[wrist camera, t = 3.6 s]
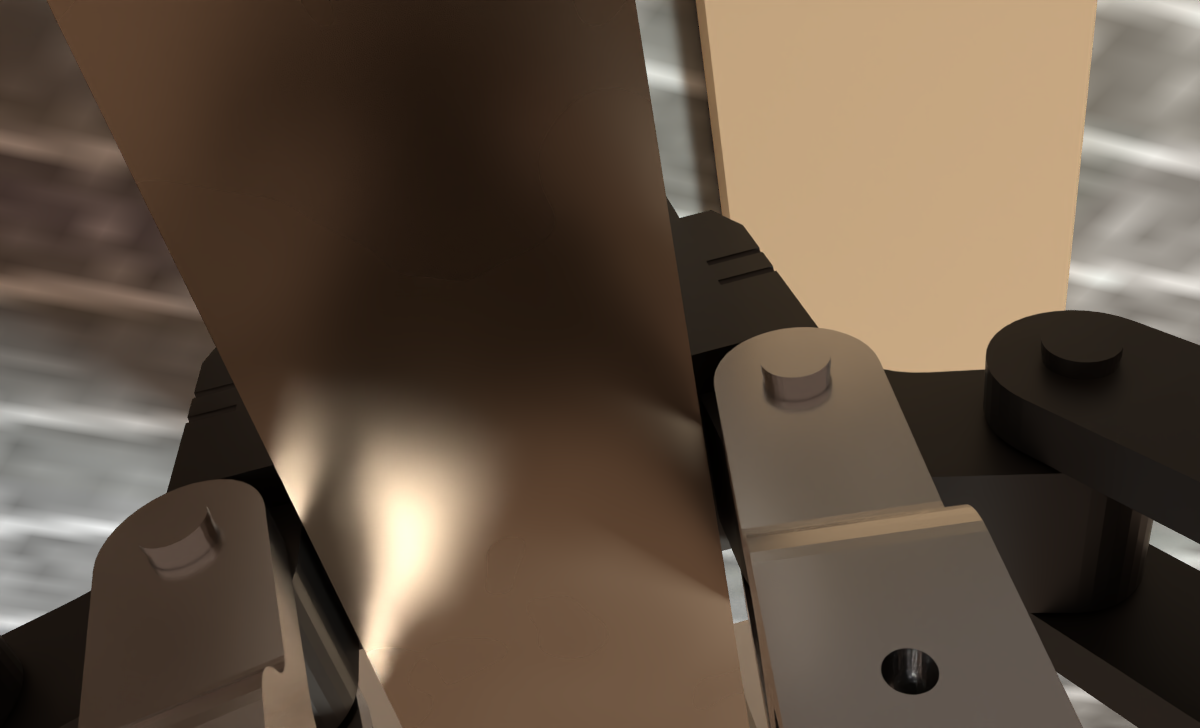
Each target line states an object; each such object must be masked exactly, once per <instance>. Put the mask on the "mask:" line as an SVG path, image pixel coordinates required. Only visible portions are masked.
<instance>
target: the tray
mask: <svg viewBox="0 0 1200 728" xmlns="http://www.w3.org/2000/svg"><path fill="white" fill-rule="evenodd" d="M696 7H697V15H698V23H699V31H700V40H701V48H702V56H703V64H704V72H705V80H706V88H707V97H708V105H709V113H710V121H711V129H712V137H713V145H714V153H715V162H716V170H717V178H718V186H719V194H720V202H721V210H722V216H725V217H727V218H729V219H731V220H733V221H735V222H738V223H740V224H742V225H743V226H744V227H745V228H746V230H747V231H748V233H749V234H750V235H751V237H752V238H753V239H754V241H755V242H756V243H757V245H758V246H759V248H760V252H763V253H764V254H765V256H766V257H767V258H768V260H769V261H770V262H771V264H772V265H773V269H774V271H777V272H778V273H779V275H780V276H781V277H782V279H783V280H784V281H785V283H786V284H787V286H788V287H789V288H790V290H791V291H792V292H793V294H794V295H795V296H796V298H797V299H798V300H799V302H800V303H801V305H802V306H803V307H804V309H805V310H806V311H807V313H808V314H809V315H810V317H811V318H812V320H813V321H814V322H815V324H816V325H817V326H818V328H824V329H830V330H835V331H839V332H842V333H845V334H848V335H850V336H852V337H855V338H857V339H859V340H860V341H862V342H863V343H865V344H866V345H868V346H869V347H870V348H871V349H872V350H873V351H874V352H875V354H876V355H877V357H878V359H879V360H880V363H881V365H882V367H883V369H886V370H892V371H900V372H944V371H963V370H983V369H985V361H986V349H987V347H988V345H989V342H990V340H991V339H992V338H993V337H994V335H995V334H996V333H997V332H999V331H1000V330H1001V329H1002V328H1004V327H1005V326H1007V325H1009V324H1011V323H1012V322H1014V321H1017V320H1019V319H1022V318H1024V317H1027V316H1031V315H1035V314H1039V313H1045V312H1052V311H1065V307H1066V297H1067V288H1068V278H1069V268H1070V259H1071V249H1072V239H1073V230H1074V220H1075V210H1076V201H1077V191H1078V181H1079V172H1080V162H1081V152H1082V143H1083V133H1084V124H1085V114H1086V104H1087V95H1088V85H1089V75H1090V66H1091V56H1092V46H1093V37H1094V27H1095V17H1096V8H1097V0H696Z"/></svg>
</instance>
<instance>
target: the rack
mask: <svg viewBox="0 0 1200 728" xmlns="http://www.w3.org/2000/svg"><path fill="white" fill-rule="evenodd" d="M733 625H734V632H735V638H736V645H737V651H738V657H739V664H740V670H741V676H742V683H743V689H744V695H745V702H746V708H747V714H748V721H749V727H750V728H768V726H767V720H766V715H765V709H764V704H763V698H762V693H761V687H760V681H759V676H758V670H757V665H756V659H755V654H754V648H753V642H752V637H751V631H750V626H749V620H746V621H742V622H739V623H735V624H733ZM358 686H359V688H360V690H361V692H362V694H363V695H364V697H365V699H366V701H367V704H368V707H369V710H370V715H371V719H372V724H373V728H402V726H401V724H400V722H399V720H398V718H397V715H396V713H395V711H394V709H393V707H392V705H391V703H390V701H389V699H388V697H387V695H386V693H385V691H384V689H383V687H382V685H381V683H380V681H379V679H378V677H377V675H376V673H375V670H374V668H373V666H372V664H371V662H370V660H369V658H368V656H367V654H366V652H365V650H364V649H361V650H359V681H358Z"/></svg>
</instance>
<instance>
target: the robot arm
mask: <svg viewBox="0 0 1200 728" xmlns="http://www.w3.org/2000/svg"><path fill="white" fill-rule="evenodd" d="M666 200H667V206H668V213H669V219H670V225H671V232H672V238H673V245H674V251H675V257H676V264H677V270H678V276H679V283H680V289H681V295H682V302H683V308H684V314H685V321H686V327H687V333H688V340H689V346H690V352H691V359H692V365H693V372H694V378H695V384H696V391H697V397H698V403H699V410H700V416H701V422H702V429H703V435H704V441H705V448H706V454H707V460H708V467H709V473H710V479H711V486H712V492H713V499H714V505H715V511H716V518H717V524H718V530H719V537H720V543H721V549H722V551H723V550H727V549H730V548H732V551H733V553H734V555H735V558H736V560H737V562H738V565H739V567H740V569H741V575H742V582H743V589H744V596H745V603H746V609H747V615H748V620H749V626H750V631H751V637H752V642H753V648H754V654H755V659H756V665H757V670H758V676H759V681H760V687H761V693H762V698H763V704H764V709H765V715H766V720H767V726H768V728H1083V727H1082V725H1081V723H1080V721H1079V718H1078V716H1077V714H1076V712H1075V710H1074V708H1073V706H1072V704H1071V702H1070V700H1069V698H1068V696H1067V694H1066V691H1065V689H1064V687H1063V685H1062V683H1061V681H1060V679H1059V677H1058V675H1057V673H1056V672H1058V673H1059V674H1061V675H1062V676H1064V677H1065V678H1066V679H1068V680H1069V681H1071V682H1072V683H1074V684H1075V685H1077V686H1078V687H1080V688H1081V689H1083V690H1084V691H1086V692H1087V693H1088V694H1090V695H1091V696H1093V697H1094V698H1096V699H1097V700H1099V701H1100V702H1102V703H1103V704H1105V705H1106V706H1107V707H1109V708H1110V709H1112V710H1113V711H1115V712H1116V713H1118V714H1119V715H1121V716H1122V717H1124V718H1125V719H1127V720H1128V721H1129V722H1131V723H1132V724H1134V725H1135V726H1137V727H1138V728H1200V571H1199V570H1197V569H1195V568H1193V567H1191V566H1189V565H1188V564H1186V563H1184V562H1182V561H1180V560H1178V559H1176V558H1175V557H1173V556H1171V555H1169V554H1167V553H1165V552H1163V551H1161V550H1160V549H1158V548H1156V547H1154V546H1152V545H1150V544H1149V540H1150V535H1151V529H1152V524H1153V520H1154V521H1156V522H1158V523H1160V524H1162V525H1164V526H1166V527H1168V528H1170V529H1172V530H1174V531H1176V532H1178V533H1180V534H1182V535H1184V536H1185V537H1187V538H1189V539H1191V540H1193V541H1195V542H1197V543H1199V544H1200V345H1197V344H1195V343H1192V342H1189V341H1187V340H1184V339H1181V338H1178V337H1176V336H1173V335H1170V334H1168V333H1165V332H1162V331H1159V330H1157V329H1154V328H1151V327H1149V326H1146V325H1143V324H1140V323H1138V322H1135V321H1132V320H1129V319H1126V318H1123V317H1119V316H1115V315H1111V314H1106V313H1100V312H1092V311H1077V310H1066V311H1052V312H1045V313H1039V314H1035V315H1031V316H1027V317H1024V318H1022V319H1019V320H1017V321H1014V322H1012V323H1011V324H1009V325H1007V326H1005V327H1004V328H1002V329H1001V330H1000V331H999V332H997V333H996V334H995V335H994V337H993V338H992V339H991V340H990V342H989V345H988V347H987V349H986V361H985V369H983V370H963V371H944V372H900V371H892V370H886V369H883V367H882V365H881V363H880V360H879V359H878V357H877V355H876V354H875V352H874V351H873V350H872V349H871V348H870V347H869V346H868V345H866V344H865V343H863V342H862V341H860V340H859V339H857V338H855V337H852V336H850V335H848V334H845V333H842V332H839V331H835V330H830V329H824V328H818V326H817V325H816V324H815V322H814V321H813V320H812V318H811V317H810V315H809V314H808V313H807V311H806V310H805V309H804V307H803V306H802V305H801V303H800V302H799V300H798V299H797V298H796V296H795V295H794V294H793V292H792V291H791V290H790V288H789V287H788V286H787V284H786V283H785V281H784V280H783V279H782V277H781V276H780V275H779V273H778V272H777V271H774V269H773V265H772V264H771V262H770V261H769V260H768V258H767V257H766V256H765V254H764V253H763V252H760V248H759V246H758V245H757V243H756V242H755V241H754V239H753V238H752V237H751V235H750V234H749V233H748V231H747V230H746V228H745V227H744V226H743V225H742V224H740V223H738V222H735V221H733V220H731V219H729V218H727V217H725V216H722V215H720V214H718V213H716V212H714V211H712V210H710V211H706V212H702V213H698V214H694V215H690V216H686V217H682V218H679V216H678V215H677V213H676V212H675V210H674V208H673V207H672V205H671V203H670V202H669V200H668V199H667V197H666ZM194 393H195V396H196V398H193V399H192V403H191V406H190V410H189V414H188V420H189V423H186V425H185V428H184V432H183V435H182V439H181V443H180V446H179V450H178V454H177V457H176V461H175V465H174V468H173V472H172V475H171V479H170V483H169V486H168V490H167V493H166V494H164V495H162V496H160V497H158V498H156V499H154V500H152V501H151V502H149V503H147V504H146V505H144V506H143V507H141V508H140V509H138V510H137V511H136V512H134V513H133V514H132V515H130V516H129V517H128V518H127V519H126V520H124V521H123V522H122V523H121V524H120V525H119V526H118V527H117V528H116V529H115V530H114V531H113V533H112V534H111V535H110V536H109V537H108V538H107V540H106V541H105V543H104V544H103V546H102V547H101V549H100V551H99V553H98V555H97V558H96V560H95V564H94V569H93V577H92V588H91V591H89V592H88V593H86V594H84V595H82V596H80V597H79V598H77V599H75V600H73V601H71V602H69V603H67V604H65V605H63V606H61V607H59V608H57V609H55V610H53V611H51V612H49V613H47V614H45V615H42V616H40V617H38V618H36V619H34V620H32V621H30V622H28V623H26V624H24V625H22V626H20V627H18V628H16V629H14V630H12V631H10V632H8V633H6V634H4V635H2V636H1V635H0V728H373V724H372V719H371V715H370V710H369V707H368V704H367V701H366V699H365V697H364V695H363V694H362V692H361V690H360V688H359V686H358V681H359V650H361V649H364V648H363V646H362V644H361V642H360V640H359V638H358V636H357V634H356V632H355V630H354V628H353V626H352V623H351V621H350V619H349V617H348V615H347V613H346V611H345V609H344V607H343V605H342V603H341V601H340V599H339V597H338V595H337V593H336V591H335V589H334V587H333V585H332V583H331V581H330V579H329V576H328V574H327V572H326V570H325V568H324V566H323V564H322V562H321V560H320V558H319V556H318V554H317V552H316V550H315V548H314V546H313V544H312V542H311V540H310V538H309V536H308V534H307V532H306V529H305V527H304V525H303V523H302V521H301V519H300V517H299V515H298V513H297V511H296V509H295V507H294V505H293V503H292V501H291V499H290V497H289V495H288V493H287V491H286V489H285V487H284V485H283V482H282V480H281V478H280V476H279V474H278V472H277V470H276V468H275V466H274V464H273V462H272V460H271V458H270V456H269V454H268V452H267V450H266V448H265V446H264V444H263V442H262V440H261V438H260V435H259V433H258V431H257V429H256V427H255V425H254V423H253V421H252V419H251V417H250V415H249V413H248V411H247V409H246V407H245V405H244V403H243V401H242V399H241V397H240V395H239V393H238V391H237V388H236V386H235V384H234V382H233V380H232V378H231V376H230V374H229V372H228V370H227V368H226V366H225V364H224V362H223V360H222V358H221V356H220V354H219V352H218V350H217V348H215V349H214V350H213V351H212V353H211V354H210V355H209V356H208V357H207V358H206V360H205V361H204V362H203V363H202V366H201V370H200V374H199V377H198V381H197V385H196V388H195V392H194Z"/></svg>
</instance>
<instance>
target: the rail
mask: <svg viewBox="0 0 1200 728" xmlns="http://www.w3.org/2000/svg"><path fill="white" fill-rule="evenodd" d="M47 2H48V4H49V6H50V8H51V10H52V12H53V15H54V17H55V19H56V21H57V23H58V25H59V27H60V29H61V31H62V33H63V35H64V37H65V39H66V41H67V43H68V45H69V47H70V49H71V51H72V53H73V55H74V57H75V59H76V62H77V64H78V66H79V68H80V70H81V72H82V74H83V76H84V78H85V80H86V82H87V84H88V86H89V88H90V90H91V92H92V94H93V96H94V98H95V100H96V102H97V104H98V106H99V109H100V111H101V113H102V115H103V117H104V119H105V121H106V123H107V125H108V127H109V129H110V131H111V133H112V135H113V137H114V139H115V141H116V143H117V145H118V147H119V149H120V151H121V153H122V156H123V158H124V160H125V162H126V164H127V166H128V168H129V170H130V172H131V174H132V176H133V178H134V180H135V182H136V184H137V186H138V188H139V190H140V192H141V194H142V196H143V198H144V200H145V203H146V205H147V207H148V209H149V211H150V213H151V215H152V217H153V219H154V221H155V223H156V225H157V227H158V229H159V231H160V233H161V235H162V237H163V239H164V241H165V243H166V245H167V247H168V250H169V252H170V254H171V256H172V258H173V260H174V262H175V264H176V266H177V268H178V270H179V272H180V274H181V276H182V278H183V280H184V282H185V284H186V286H187V288H188V290H189V292H190V294H191V297H192V299H193V301H194V303H195V305H196V307H197V309H198V311H199V313H200V315H201V317H202V319H203V321H204V323H205V325H206V327H207V329H208V331H209V333H210V335H211V337H212V339H213V341H214V344H215V346H216V348H217V350H218V352H219V354H220V356H221V358H222V360H223V362H224V364H225V366H226V368H227V370H228V372H229V374H230V376H231V378H232V380H233V382H234V384H235V386H236V388H237V391H238V393H239V395H240V397H241V399H242V401H243V403H244V405H245V407H246V409H247V411H248V413H249V415H250V417H251V419H252V421H253V423H254V425H255V427H256V429H257V431H258V433H259V435H260V438H261V440H262V442H263V444H264V446H265V448H266V450H267V452H268V454H269V456H270V458H271V460H272V462H273V464H274V466H275V468H276V470H277V472H278V474H279V476H280V478H281V480H282V482H283V485H284V487H285V489H286V491H287V493H288V495H289V497H290V499H291V501H292V503H293V505H294V507H295V509H296V511H297V513H298V515H299V517H300V519H301V521H302V523H303V525H304V527H305V529H306V532H307V534H308V536H309V538H310V540H311V542H312V544H313V546H314V548H315V550H316V552H317V554H318V556H319V558H320V560H321V562H322V564H323V566H324V568H325V570H326V572H327V574H328V576H329V579H330V581H331V583H332V585H333V587H334V589H335V591H336V593H337V595H338V597H339V599H340V601H341V603H342V605H343V607H344V609H345V611H346V613H347V615H348V617H349V619H350V621H351V623H352V626H353V628H354V630H355V632H356V634H357V636H358V638H359V640H360V642H361V644H362V646H363V648H364V650H365V652H366V654H367V656H368V658H369V660H370V662H371V664H372V666H373V668H374V670H375V673H376V675H377V677H378V679H379V681H380V683H381V685H382V687H383V689H384V691H385V693H386V695H387V697H388V699H389V701H390V703H391V705H392V707H393V709H394V711H395V713H396V715H397V718H398V720H399V722H400V724H401V726H402V728H750V727H749V721H748V714H747V708H746V702H745V695H744V689H743V683H742V676H741V670H740V664H739V657H738V651H737V645H736V638H735V632H734V625H733V619H732V613H731V606H730V600H729V594H728V587H727V581H726V575H725V568H724V562H723V556H722V549H721V543H720V537H719V530H718V524H717V518H716V511H715V505H714V499H713V492H712V486H711V479H710V473H709V467H708V460H707V454H706V448H705V441H704V435H703V429H702V422H701V416H700V410H699V403H698V397H697V391H696V384H695V378H694V372H693V365H692V359H691V352H690V346H689V340H688V333H687V327H686V321H685V314H684V308H683V302H682V295H681V289H680V283H679V276H678V270H677V264H676V257H675V251H674V245H673V238H672V232H671V225H670V219H669V213H668V206H667V200H666V194H665V187H664V181H663V175H662V168H661V162H660V156H659V149H658V143H657V137H656V130H655V124H654V118H653V111H652V105H651V98H650V92H649V86H648V79H647V73H646V67H645V60H644V54H643V48H642V41H641V35H640V29H639V22H638V16H637V10H636V3H635V0H47Z"/></svg>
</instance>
